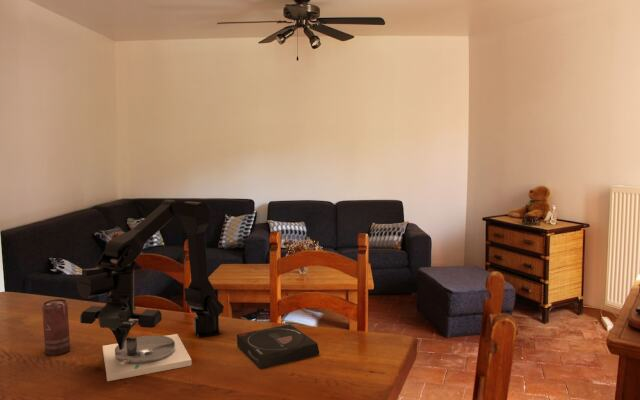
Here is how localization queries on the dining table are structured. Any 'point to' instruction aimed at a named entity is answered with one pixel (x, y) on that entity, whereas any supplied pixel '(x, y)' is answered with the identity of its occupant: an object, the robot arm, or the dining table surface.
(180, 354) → the board
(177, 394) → the dining table surface
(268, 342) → the portable cd player
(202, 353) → the dining table surface
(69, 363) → the dining table surface
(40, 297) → the dining table surface
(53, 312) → the can
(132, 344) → the dial
